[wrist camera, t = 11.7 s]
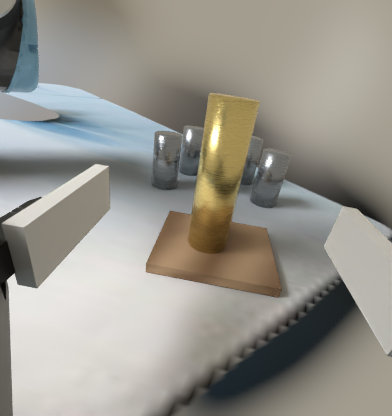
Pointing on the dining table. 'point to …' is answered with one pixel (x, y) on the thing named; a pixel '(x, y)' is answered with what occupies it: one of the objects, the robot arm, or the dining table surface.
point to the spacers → (190, 155)
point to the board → (217, 258)
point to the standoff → (220, 169)
